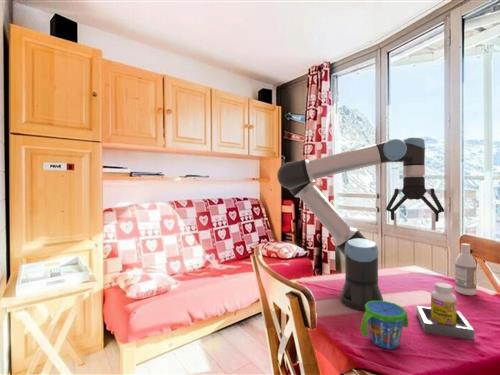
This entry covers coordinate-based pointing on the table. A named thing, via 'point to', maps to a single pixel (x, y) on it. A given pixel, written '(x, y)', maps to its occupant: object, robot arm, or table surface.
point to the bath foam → (465, 272)
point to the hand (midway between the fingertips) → (413, 229)
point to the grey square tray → (445, 325)
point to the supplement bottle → (443, 304)
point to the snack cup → (384, 323)
